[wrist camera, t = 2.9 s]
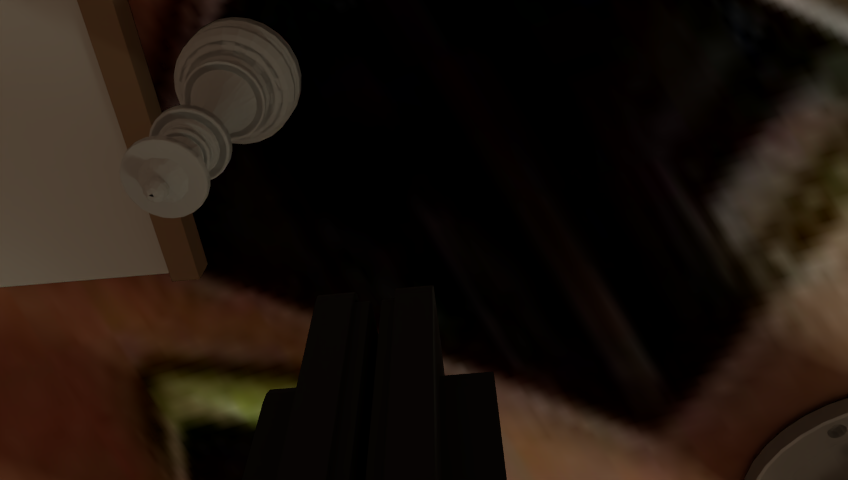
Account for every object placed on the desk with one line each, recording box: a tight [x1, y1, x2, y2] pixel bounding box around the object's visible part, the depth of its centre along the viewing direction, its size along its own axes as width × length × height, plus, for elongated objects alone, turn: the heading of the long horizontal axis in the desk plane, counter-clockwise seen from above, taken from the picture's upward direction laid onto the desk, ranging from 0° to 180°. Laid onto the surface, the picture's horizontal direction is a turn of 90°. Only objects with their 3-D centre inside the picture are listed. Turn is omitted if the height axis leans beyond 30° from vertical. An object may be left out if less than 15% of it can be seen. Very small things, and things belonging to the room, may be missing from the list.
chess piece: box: [120, 17, 301, 218], centre depth 23 cm, size 4×4×10 cm
